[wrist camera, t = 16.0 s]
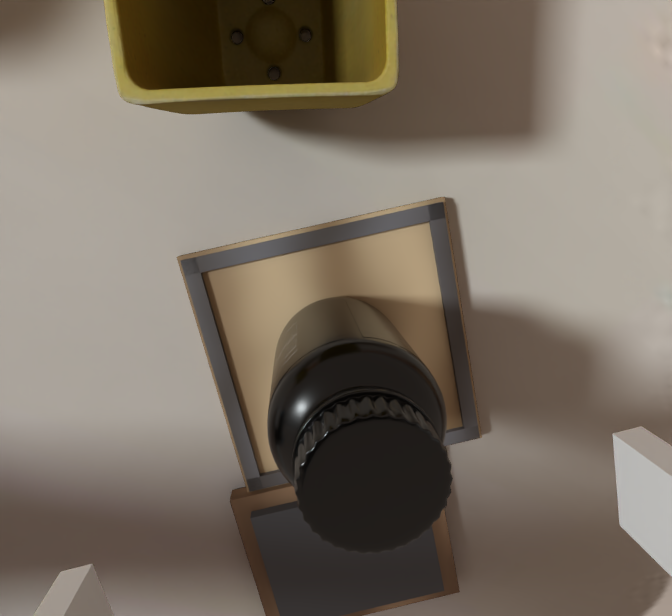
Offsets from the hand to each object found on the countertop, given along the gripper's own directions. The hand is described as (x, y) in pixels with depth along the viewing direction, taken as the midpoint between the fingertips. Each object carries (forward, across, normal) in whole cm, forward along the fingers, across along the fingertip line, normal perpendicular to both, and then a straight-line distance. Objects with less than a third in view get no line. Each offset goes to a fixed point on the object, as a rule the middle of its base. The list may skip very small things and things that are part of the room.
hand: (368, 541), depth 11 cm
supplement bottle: (+14, +1, 0) cm, 14 cm away
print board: (+15, +1, 0) cm, 15 cm away
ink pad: (+15, -1, -12) cm, 19 cm away
